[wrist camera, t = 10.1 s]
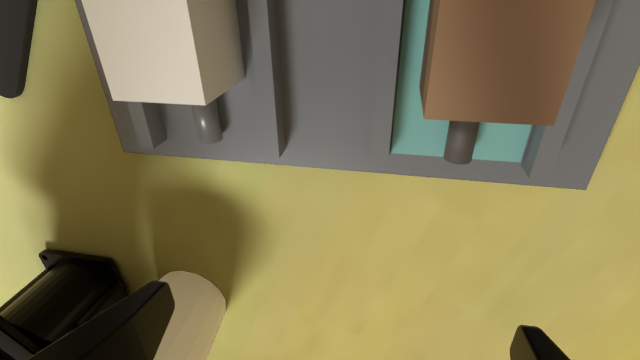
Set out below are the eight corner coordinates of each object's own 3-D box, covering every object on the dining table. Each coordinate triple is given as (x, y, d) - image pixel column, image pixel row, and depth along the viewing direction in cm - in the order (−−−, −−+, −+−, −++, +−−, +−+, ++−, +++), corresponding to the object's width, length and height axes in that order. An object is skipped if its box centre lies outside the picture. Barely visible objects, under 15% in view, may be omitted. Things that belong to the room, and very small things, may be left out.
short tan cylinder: (138, 291, 29) (70, 374, 23) (174, 249, 25) (105, 333, 19) (207, 337, 30) (160, 427, 24) (250, 303, 27) (207, 397, 21)
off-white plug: (181, 132, 19) (133, 166, 16) (112, -173, 13) (10, -224, 10) (252, 137, 18) (218, 174, 15) (213, -184, 12) (142, -242, 9)
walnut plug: (411, 149, 17) (413, 194, 14) (455, -208, 11) (479, -289, 7) (501, 155, 16) (528, 204, 13) (602, -223, 10) (701, -320, 7)
